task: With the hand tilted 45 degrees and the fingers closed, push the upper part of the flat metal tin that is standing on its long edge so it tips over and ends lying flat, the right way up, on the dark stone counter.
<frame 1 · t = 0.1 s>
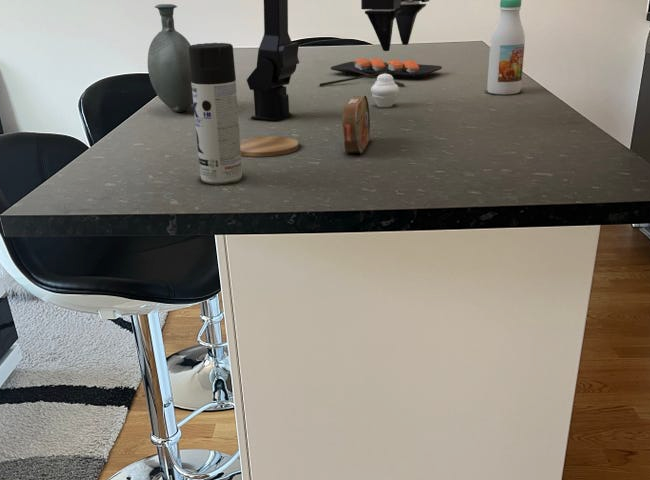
hand: (396, 47, 145), 15 cm above the countertop, tool pointing down, fingers open, 9 cm apart
flask: (178, 112, 174), on the countertop
sushi plate: (371, 79, 204), on the countertop
cork trivet: (265, 148, 140), on the countertop
spray can: (222, 180, 123), on the countertop
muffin: (384, 107, 171), on the countertop
tin: (356, 149, 138), on the countertop
milk bottle: (503, 93, 181), on the countertop
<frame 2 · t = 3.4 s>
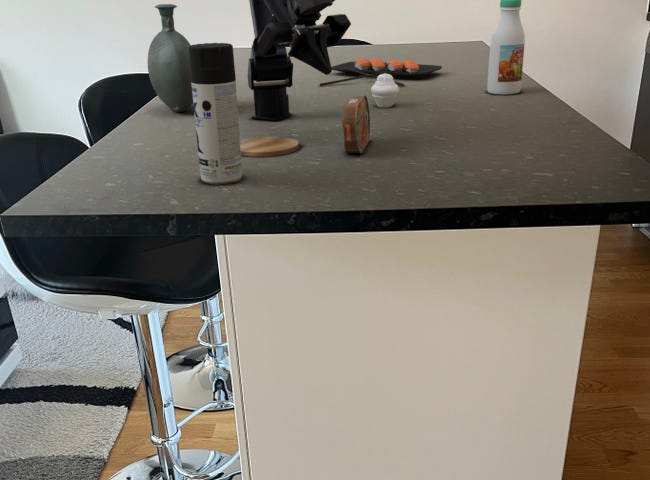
hand: (329, 73, 137), 12 cm above the countertop, tool tilted 45°, fingers closed
nothing on the countertop moved.
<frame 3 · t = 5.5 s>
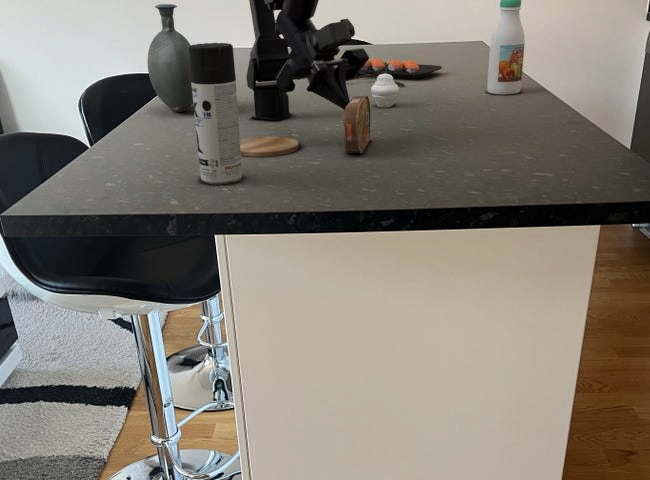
hand: (347, 108, 136), 7 cm above the countertop, tool tilted 45°, fingers closed
tin: (356, 148, 138), on the countertop, touching gripper
everything else where it was.
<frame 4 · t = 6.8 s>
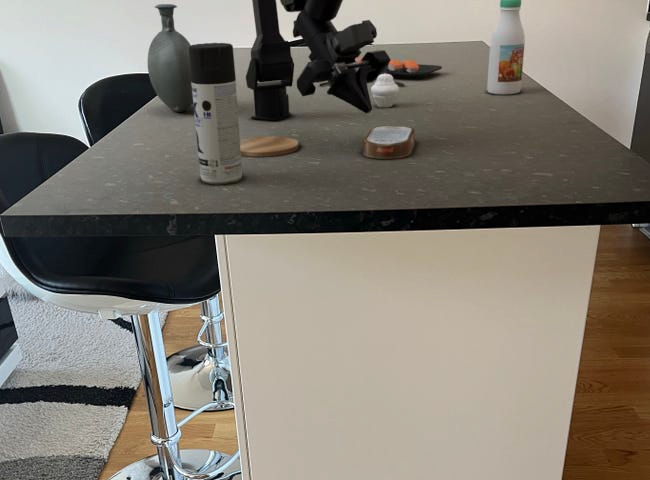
hand: (369, 111, 133), 7 cm above the countertop, tool tilted 45°, fingers closed
tin: (365, 139, 137), point 2 cm above the countertop
everything else where it was.
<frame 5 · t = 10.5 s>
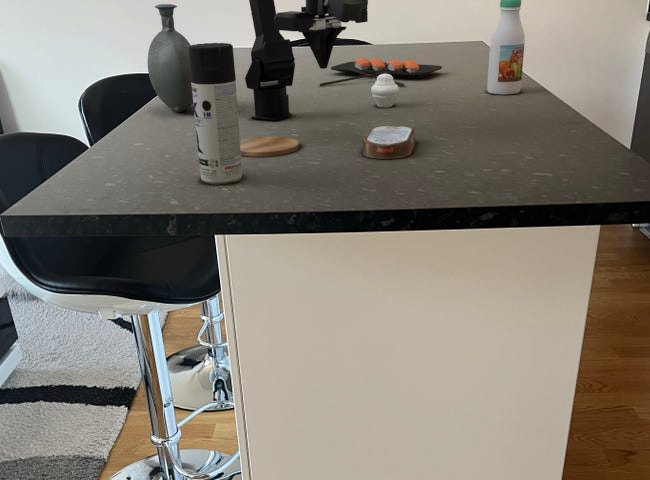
hand: (323, 68, 143), 12 cm above the countertop, tool pointing down, fingers closed
nothing on the countertop moved.
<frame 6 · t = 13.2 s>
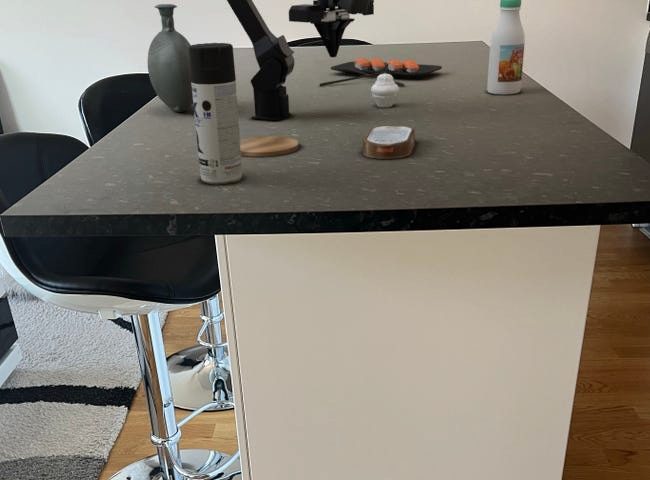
hand: (333, 57, 156), 12 cm above the countertop, tool pointing down, fingers closed
nothing on the countertop moved.
at the end: tin tilted 94°; tin inside the target area (4.0 cm from its centre), point 1.6 cm above the countertop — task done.
